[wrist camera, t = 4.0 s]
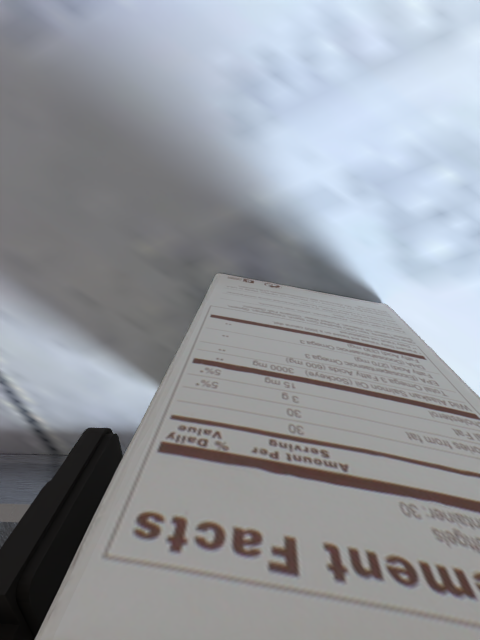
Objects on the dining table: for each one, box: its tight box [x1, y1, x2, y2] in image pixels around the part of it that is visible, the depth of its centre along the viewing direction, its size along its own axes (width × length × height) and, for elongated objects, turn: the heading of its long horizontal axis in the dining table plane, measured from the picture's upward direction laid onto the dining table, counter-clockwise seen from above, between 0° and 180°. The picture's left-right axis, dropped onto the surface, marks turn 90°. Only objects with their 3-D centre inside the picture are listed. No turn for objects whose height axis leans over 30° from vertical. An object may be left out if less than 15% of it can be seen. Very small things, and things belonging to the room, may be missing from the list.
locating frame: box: [0, 454, 67, 549], centre depth 19 cm, size 12×12×3 cm
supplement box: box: [35, 273, 480, 640], centre depth 10 cm, size 7×7×13 cm
